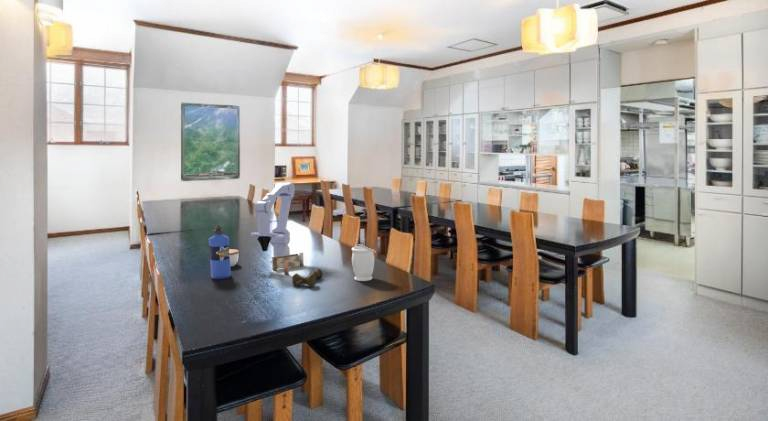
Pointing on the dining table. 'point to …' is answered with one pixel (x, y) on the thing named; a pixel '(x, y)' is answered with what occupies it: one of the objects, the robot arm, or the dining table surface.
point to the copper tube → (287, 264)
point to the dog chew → (307, 278)
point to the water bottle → (219, 254)
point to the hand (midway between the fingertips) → (264, 250)
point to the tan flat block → (279, 260)
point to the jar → (362, 263)
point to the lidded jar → (233, 256)
